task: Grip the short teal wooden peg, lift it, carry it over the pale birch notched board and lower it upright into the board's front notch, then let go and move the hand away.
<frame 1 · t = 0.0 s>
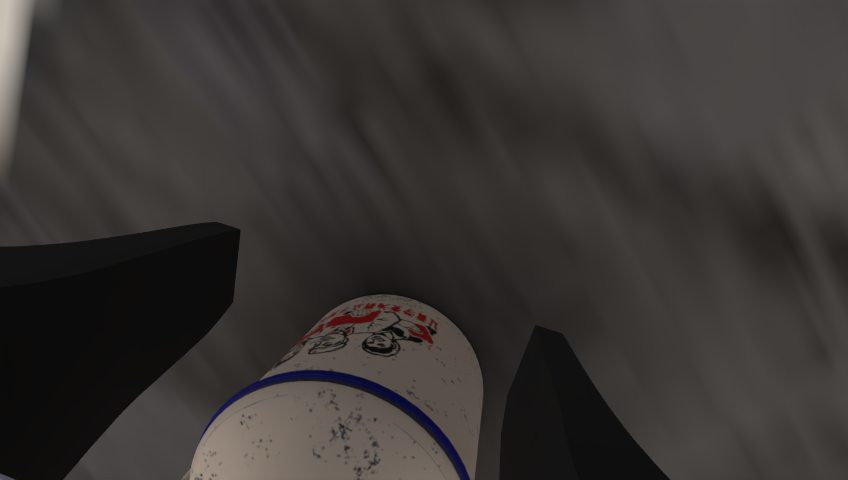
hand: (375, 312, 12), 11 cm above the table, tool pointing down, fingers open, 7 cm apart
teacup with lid: (363, 385, 25), on the table
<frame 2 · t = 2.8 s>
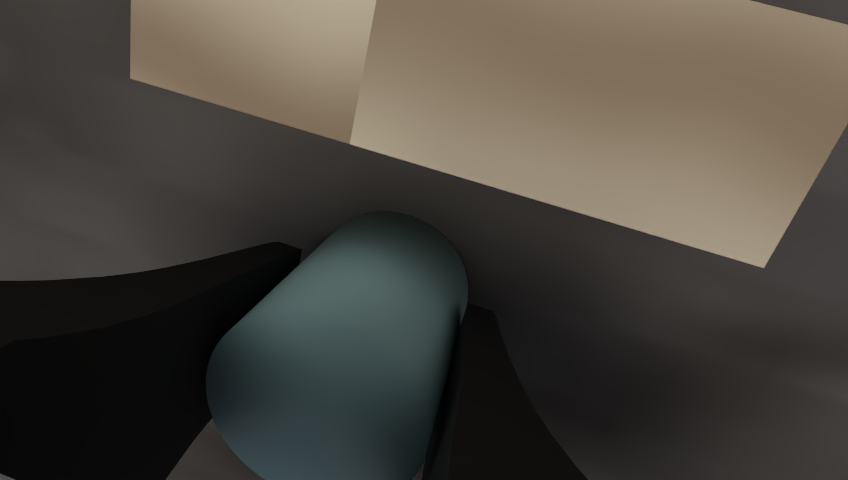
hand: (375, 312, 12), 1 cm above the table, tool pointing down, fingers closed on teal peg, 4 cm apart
teal peg: (391, 285, 13), on the table, touching gripper
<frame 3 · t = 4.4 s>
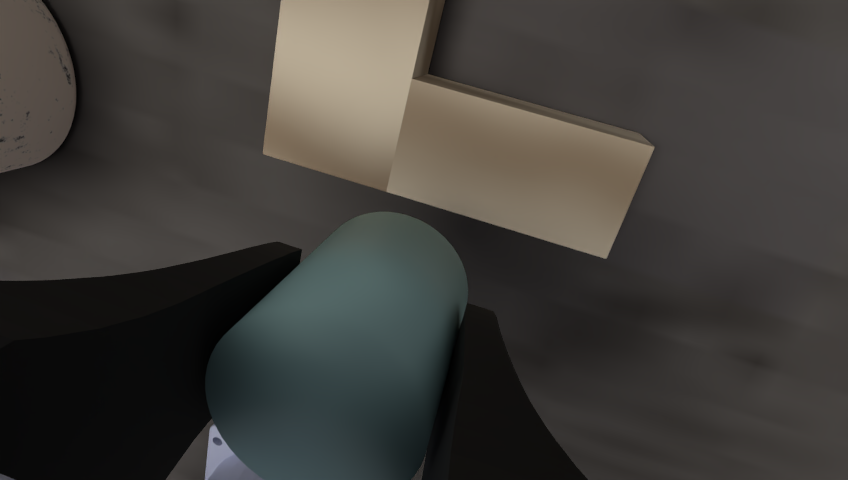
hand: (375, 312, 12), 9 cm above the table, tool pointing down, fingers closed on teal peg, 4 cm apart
notched board: (491, 0, 17), on the table
teal peg: (390, 285, 13), point 7 cm above the table, touching gripper
when the fingers open (3 cm above the table, at t = 6.3 s): teal peg drops 2 cm, resting in notched board.
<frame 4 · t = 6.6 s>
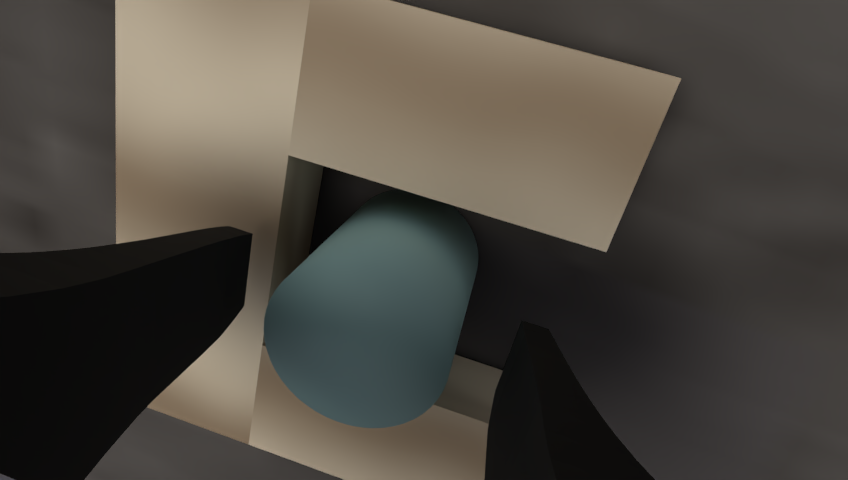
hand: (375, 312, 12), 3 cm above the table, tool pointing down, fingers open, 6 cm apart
notched board: (360, 240, 15), on the table
teal peg: (410, 255, 15), resting in notched board
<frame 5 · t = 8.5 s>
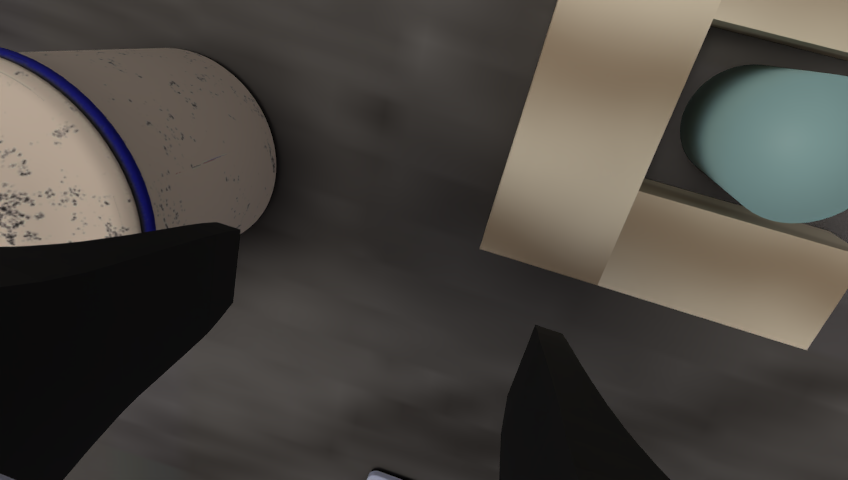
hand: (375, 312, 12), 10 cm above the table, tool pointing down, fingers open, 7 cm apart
notched board: (698, 112, 18), on the table
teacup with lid: (185, 175, 24), on the table
teal peg: (741, 123, 18), resting in notched board
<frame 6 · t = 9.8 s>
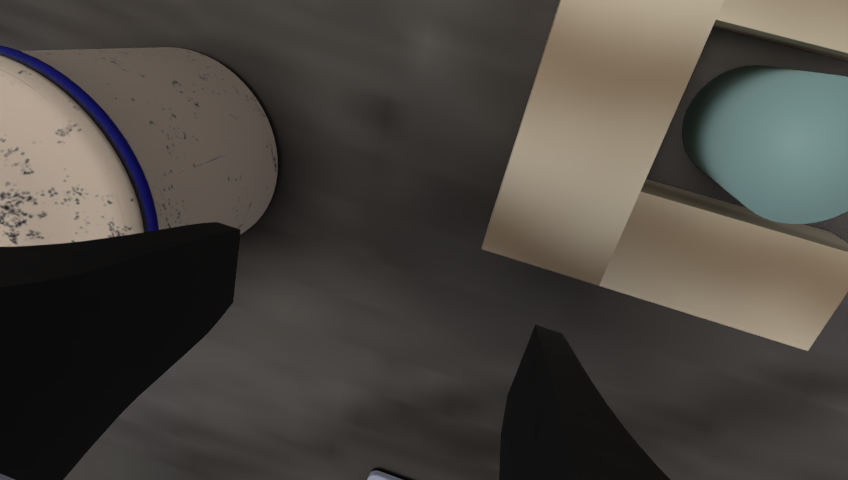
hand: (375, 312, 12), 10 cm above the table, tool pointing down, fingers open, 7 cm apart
notched board: (700, 113, 18), on the table
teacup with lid: (186, 174, 24), on the table
teal peg: (743, 124, 18), resting in notched board
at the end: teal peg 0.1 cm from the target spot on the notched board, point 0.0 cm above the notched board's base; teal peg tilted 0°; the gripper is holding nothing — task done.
